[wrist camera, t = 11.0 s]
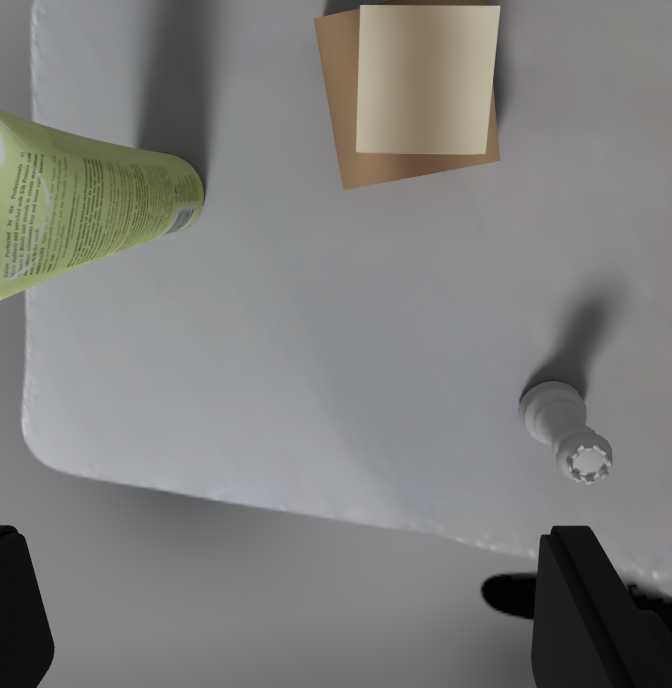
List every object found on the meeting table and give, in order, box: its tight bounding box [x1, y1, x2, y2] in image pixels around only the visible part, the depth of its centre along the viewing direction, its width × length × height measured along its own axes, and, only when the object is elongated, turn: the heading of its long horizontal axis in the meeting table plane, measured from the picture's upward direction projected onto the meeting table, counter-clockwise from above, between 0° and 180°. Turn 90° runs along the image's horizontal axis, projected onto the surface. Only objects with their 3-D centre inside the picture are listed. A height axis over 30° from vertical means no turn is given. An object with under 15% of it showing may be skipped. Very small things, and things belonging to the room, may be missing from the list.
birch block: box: [356, 5, 500, 155], centre depth 28 cm, size 6×6×6 cm
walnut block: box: [314, 0, 500, 190], centre depth 32 cm, size 9×9×4 cm
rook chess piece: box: [519, 381, 612, 484], centre depth 36 cm, size 4×4×8 cm
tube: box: [0, 109, 204, 300], centre depth 27 cm, size 6×5×20 cm
